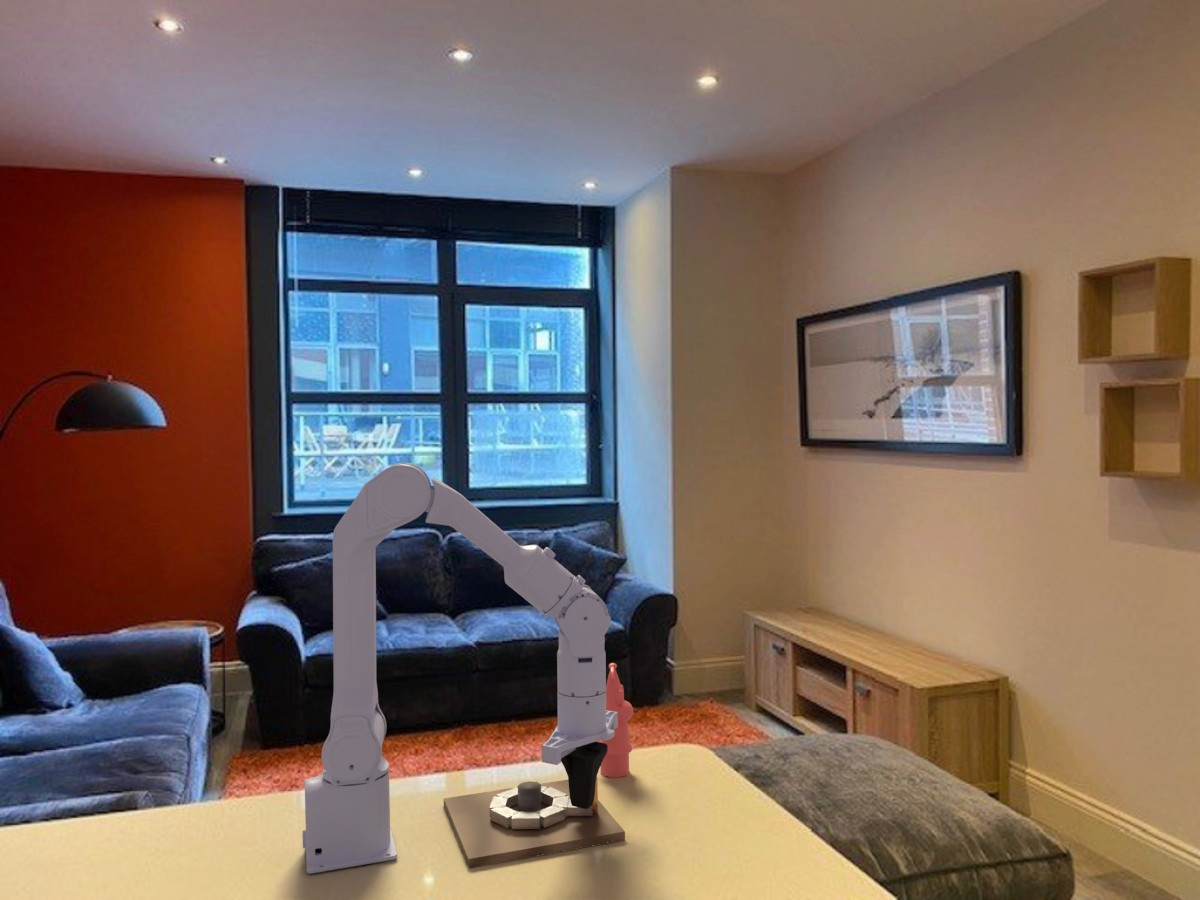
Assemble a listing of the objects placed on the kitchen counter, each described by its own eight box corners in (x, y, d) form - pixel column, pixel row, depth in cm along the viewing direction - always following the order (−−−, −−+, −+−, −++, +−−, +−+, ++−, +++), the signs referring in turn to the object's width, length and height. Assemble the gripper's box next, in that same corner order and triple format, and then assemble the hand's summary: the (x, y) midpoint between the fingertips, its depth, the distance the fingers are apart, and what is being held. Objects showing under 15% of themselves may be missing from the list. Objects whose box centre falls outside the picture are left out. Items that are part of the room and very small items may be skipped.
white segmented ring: (485, 829, 100) (485, 794, 100) (497, 796, 110) (496, 764, 109) (596, 828, 100) (596, 793, 100) (599, 795, 109) (598, 763, 109)
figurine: (634, 779, 118) (632, 668, 117) (596, 779, 118) (594, 669, 117) (633, 765, 123) (632, 658, 122) (597, 765, 123) (595, 659, 123)
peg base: (468, 868, 94) (467, 822, 94) (443, 806, 110) (442, 766, 110) (625, 840, 100) (624, 796, 100) (579, 785, 116) (579, 747, 116)
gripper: (580, 712, 94) (580, 837, 95) (639, 679, 107) (640, 789, 107) (525, 703, 98) (526, 823, 98) (589, 672, 111) (590, 779, 111)
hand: (582, 805), depth 103 cm, fingers closed, pressing on white segmented ring
